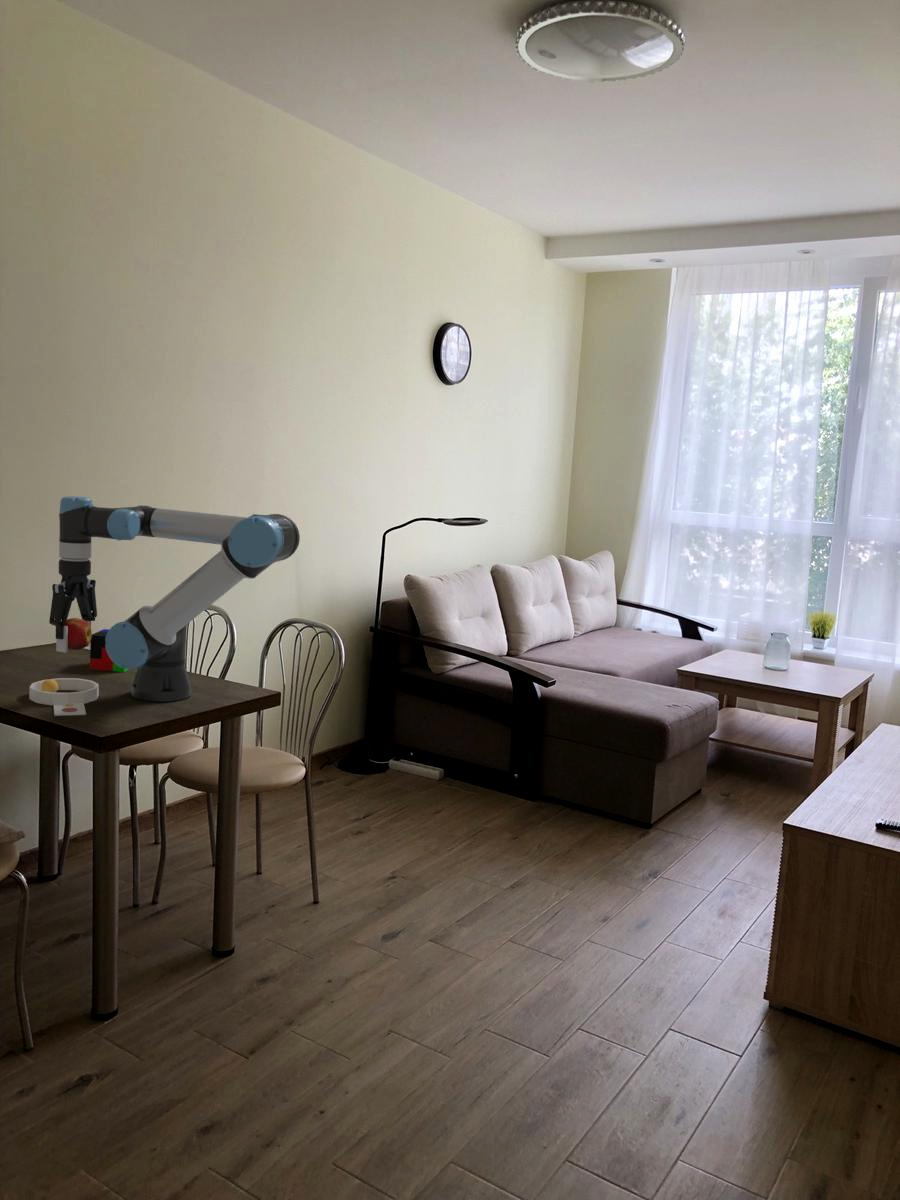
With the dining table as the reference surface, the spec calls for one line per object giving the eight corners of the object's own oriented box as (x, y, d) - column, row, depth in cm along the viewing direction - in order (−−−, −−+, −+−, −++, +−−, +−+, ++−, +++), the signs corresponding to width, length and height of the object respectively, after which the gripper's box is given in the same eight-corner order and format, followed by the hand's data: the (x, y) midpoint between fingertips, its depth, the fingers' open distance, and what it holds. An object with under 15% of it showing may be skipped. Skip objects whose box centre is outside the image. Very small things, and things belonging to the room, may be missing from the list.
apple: (82, 654, 248) (82, 622, 247) (49, 651, 248) (50, 619, 247) (95, 648, 256) (96, 617, 254) (64, 645, 256) (65, 614, 255)
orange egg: (61, 694, 257) (61, 679, 257) (50, 697, 253) (51, 682, 253) (48, 692, 258) (48, 676, 258) (37, 695, 254) (37, 680, 254)
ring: (110, 694, 260) (111, 683, 259) (70, 708, 245) (70, 696, 244) (58, 686, 264) (59, 675, 264) (16, 699, 249) (16, 687, 249)
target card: (85, 714, 240) (85, 712, 240) (54, 715, 238) (54, 713, 238) (83, 704, 249) (83, 702, 249) (53, 704, 247) (53, 703, 247)
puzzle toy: (103, 662, 296) (103, 629, 294) (136, 664, 295) (137, 631, 294) (89, 669, 286) (90, 635, 284) (124, 672, 286) (125, 637, 284)
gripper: (88, 554, 260) (87, 640, 263) (33, 560, 240) (32, 653, 243) (113, 557, 257) (111, 644, 261) (59, 564, 238) (58, 657, 241)
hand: (73, 648), depth 252 cm, fingers closed on apple, 8 cm apart
